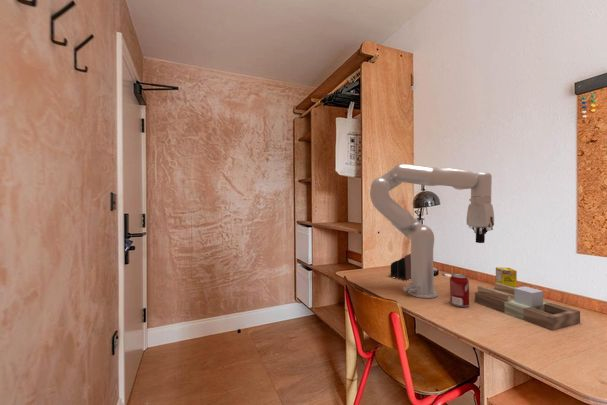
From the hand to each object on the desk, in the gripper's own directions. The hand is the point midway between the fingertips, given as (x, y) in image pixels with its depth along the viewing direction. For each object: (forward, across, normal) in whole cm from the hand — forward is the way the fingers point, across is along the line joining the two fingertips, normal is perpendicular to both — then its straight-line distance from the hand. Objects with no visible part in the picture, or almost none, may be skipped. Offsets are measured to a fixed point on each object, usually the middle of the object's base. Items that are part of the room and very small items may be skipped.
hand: (480, 242), depth 119 cm
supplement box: (+24, 0, +16) cm, 29 cm away
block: (+20, +20, +1) cm, 28 cm away
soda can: (+24, +4, -16) cm, 29 cm away
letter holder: (+25, -38, -7) cm, 46 cm away
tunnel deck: (+24, +17, +1) cm, 29 cm away
